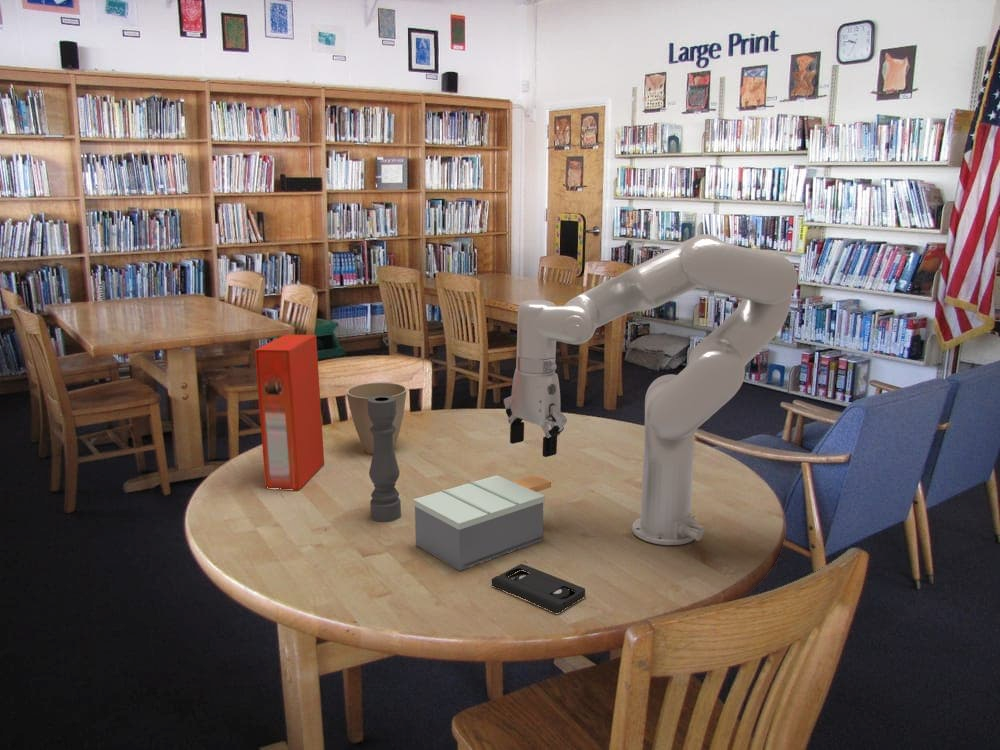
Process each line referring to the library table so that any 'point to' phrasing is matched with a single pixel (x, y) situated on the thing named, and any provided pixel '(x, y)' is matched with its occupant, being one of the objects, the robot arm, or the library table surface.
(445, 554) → the tub
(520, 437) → the robot arm
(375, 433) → the candle holder
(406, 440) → the library table surface
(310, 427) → the file binder
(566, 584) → the vhs tape
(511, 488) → the lid
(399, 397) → the plant pot
